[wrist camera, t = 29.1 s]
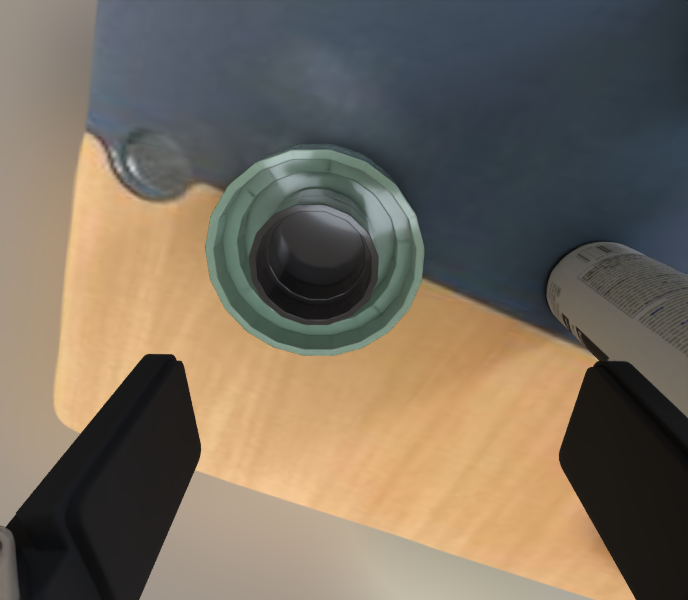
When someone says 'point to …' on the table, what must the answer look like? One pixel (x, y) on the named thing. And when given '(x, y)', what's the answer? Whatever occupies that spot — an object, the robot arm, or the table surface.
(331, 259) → the charcoal bowl
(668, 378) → the spray can
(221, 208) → the celadon bowl
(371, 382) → the table surface
